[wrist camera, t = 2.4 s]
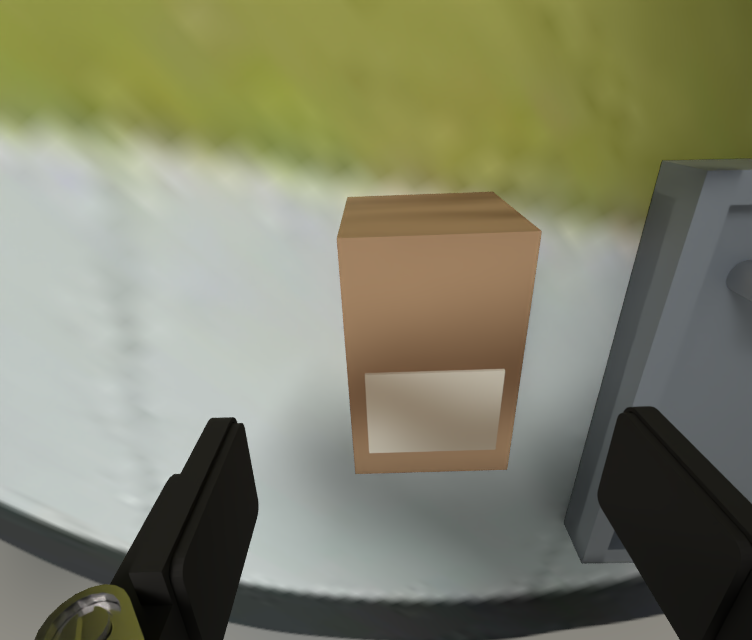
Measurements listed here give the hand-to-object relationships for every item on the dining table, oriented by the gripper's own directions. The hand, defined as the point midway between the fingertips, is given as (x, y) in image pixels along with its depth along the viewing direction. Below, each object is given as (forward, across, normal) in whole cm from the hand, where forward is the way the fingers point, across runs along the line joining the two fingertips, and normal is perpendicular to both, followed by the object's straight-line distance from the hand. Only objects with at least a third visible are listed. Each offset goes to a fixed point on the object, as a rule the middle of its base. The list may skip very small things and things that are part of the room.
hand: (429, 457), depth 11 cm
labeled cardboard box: (+7, 0, -1) cm, 7 cm away
